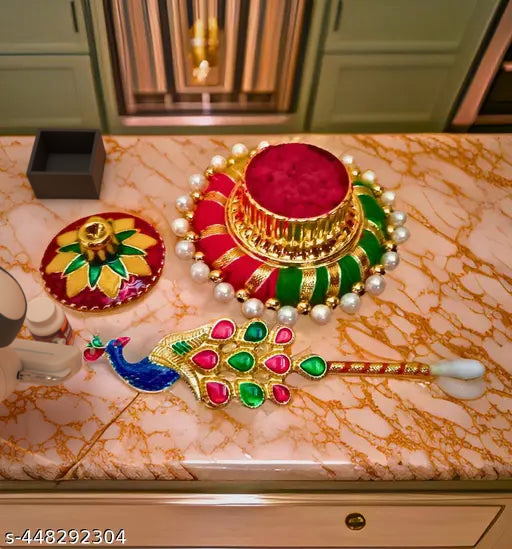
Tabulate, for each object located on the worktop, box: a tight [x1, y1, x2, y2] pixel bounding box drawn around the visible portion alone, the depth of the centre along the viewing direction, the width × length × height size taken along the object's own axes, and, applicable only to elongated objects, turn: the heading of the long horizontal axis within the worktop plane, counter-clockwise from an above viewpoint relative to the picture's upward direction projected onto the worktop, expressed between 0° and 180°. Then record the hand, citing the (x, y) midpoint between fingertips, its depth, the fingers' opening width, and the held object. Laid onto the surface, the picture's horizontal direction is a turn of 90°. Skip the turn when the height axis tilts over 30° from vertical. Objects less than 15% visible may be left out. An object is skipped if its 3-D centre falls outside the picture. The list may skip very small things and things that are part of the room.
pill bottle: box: [24, 296, 75, 346], centre depth 96 cm, size 6×6×11 cm
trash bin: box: [25, 127, 107, 200], centre depth 118 cm, size 13×13×7 cm
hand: (31, 338), depth 89 cm, fingers open, 8 cm apart
